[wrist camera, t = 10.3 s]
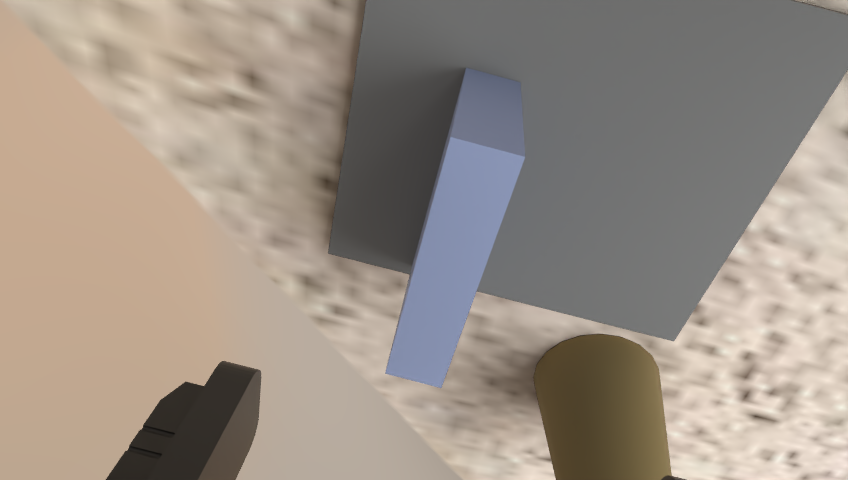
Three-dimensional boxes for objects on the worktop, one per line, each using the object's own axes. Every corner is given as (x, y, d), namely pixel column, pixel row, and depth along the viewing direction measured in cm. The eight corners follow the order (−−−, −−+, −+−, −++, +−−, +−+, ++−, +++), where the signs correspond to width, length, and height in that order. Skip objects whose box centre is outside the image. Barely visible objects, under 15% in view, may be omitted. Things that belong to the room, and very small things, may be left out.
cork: (619, 314, 26) (681, 557, 16) (682, 393, 28) (769, 648, 18) (509, 366, 28) (510, 601, 19) (574, 435, 30) (604, 677, 21)
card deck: (520, 82, 20) (524, 156, 15) (455, 277, 25) (441, 388, 19) (466, 67, 20) (450, 137, 14) (412, 266, 25) (385, 373, 19)
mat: (867, 19, 18) (877, 23, 18) (670, 332, 26) (673, 341, 25) (385, -107, 18) (382, -107, 17) (331, 246, 26) (328, 253, 25)
